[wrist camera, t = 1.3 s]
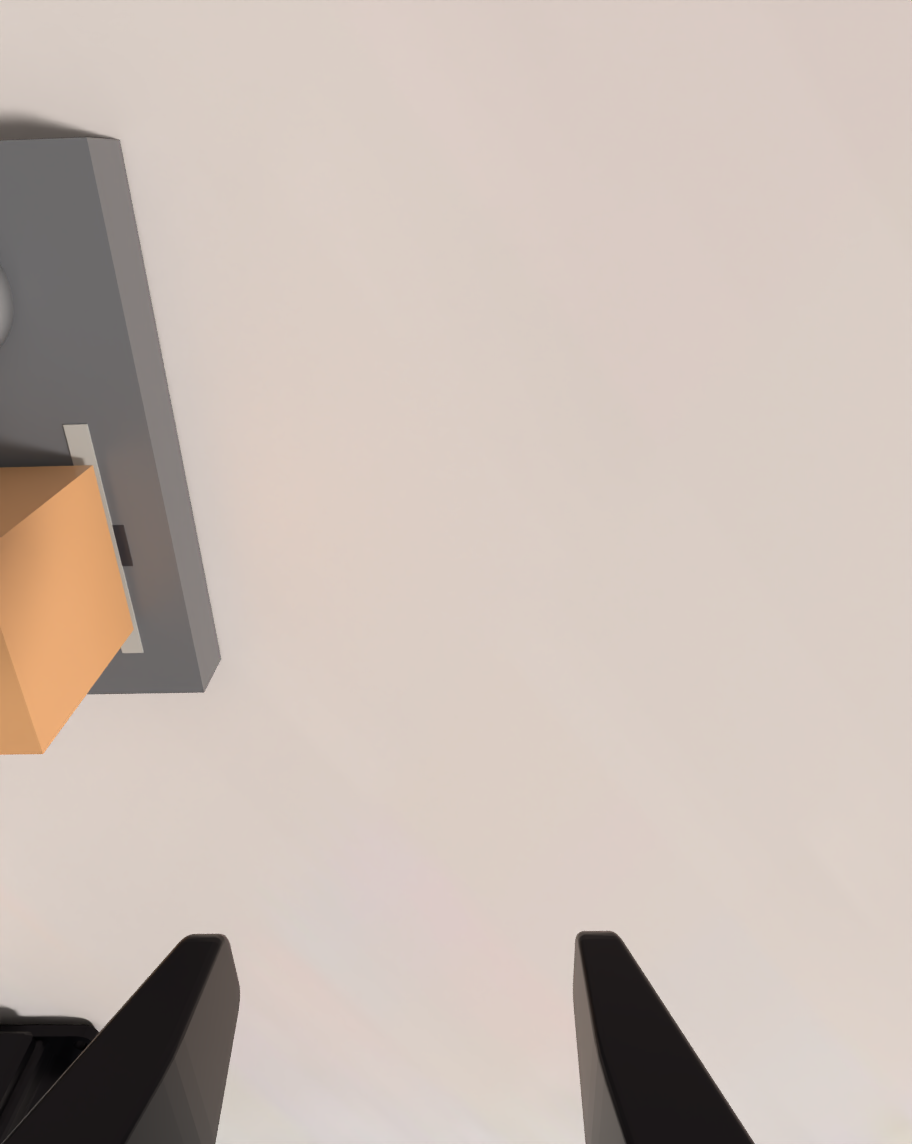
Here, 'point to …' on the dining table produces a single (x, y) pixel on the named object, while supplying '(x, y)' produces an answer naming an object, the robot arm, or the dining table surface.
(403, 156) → the dining table surface
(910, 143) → the dining table surface
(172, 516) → the board
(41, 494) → the orange cube
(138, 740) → the dining table surface
